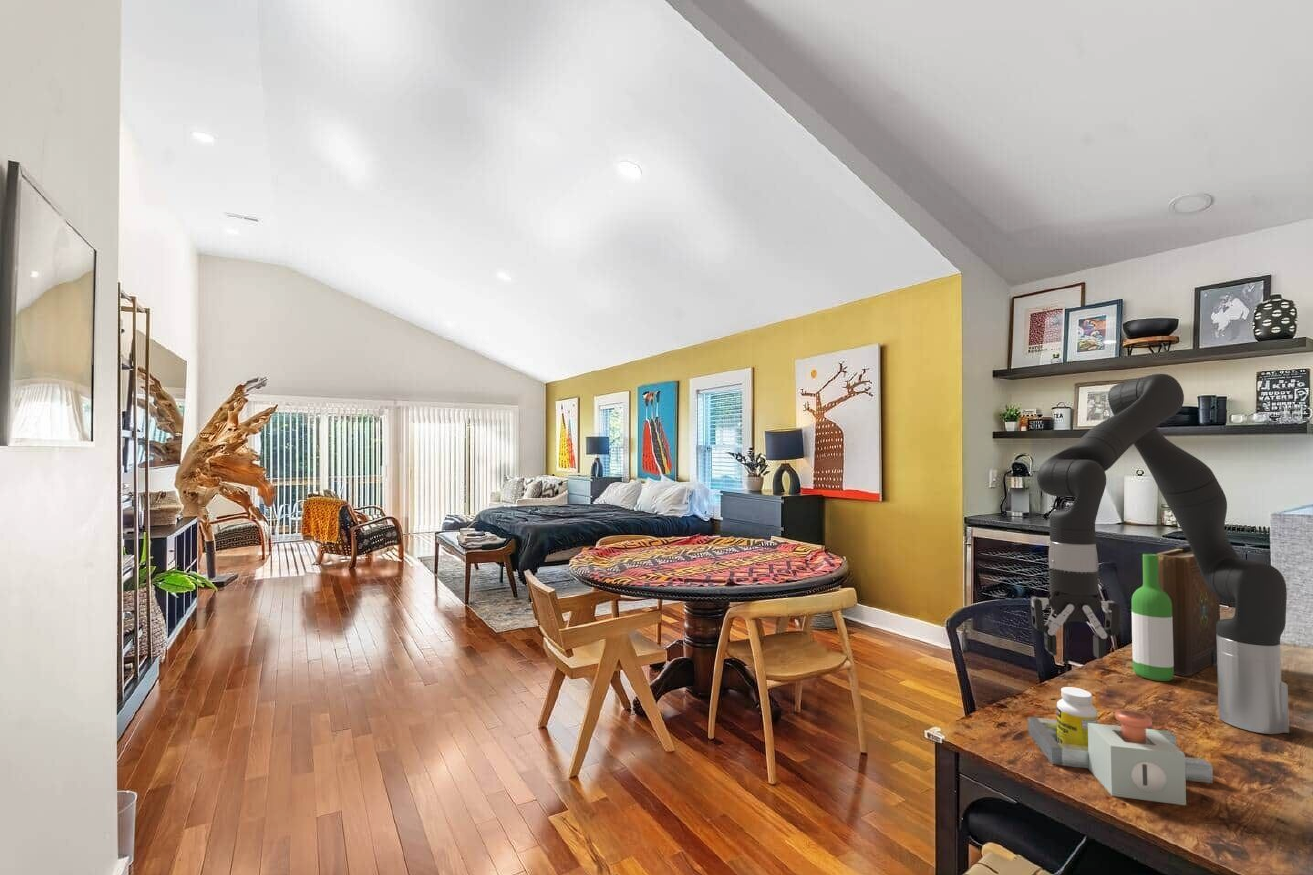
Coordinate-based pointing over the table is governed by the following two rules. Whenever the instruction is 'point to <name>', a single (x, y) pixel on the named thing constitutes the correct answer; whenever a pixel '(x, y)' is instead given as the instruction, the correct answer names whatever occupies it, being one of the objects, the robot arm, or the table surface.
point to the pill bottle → (1075, 716)
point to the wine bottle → (1152, 626)
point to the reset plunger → (1133, 725)
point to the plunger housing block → (1137, 765)
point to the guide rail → (1078, 755)
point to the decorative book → (1189, 610)
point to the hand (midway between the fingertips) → (1075, 655)
